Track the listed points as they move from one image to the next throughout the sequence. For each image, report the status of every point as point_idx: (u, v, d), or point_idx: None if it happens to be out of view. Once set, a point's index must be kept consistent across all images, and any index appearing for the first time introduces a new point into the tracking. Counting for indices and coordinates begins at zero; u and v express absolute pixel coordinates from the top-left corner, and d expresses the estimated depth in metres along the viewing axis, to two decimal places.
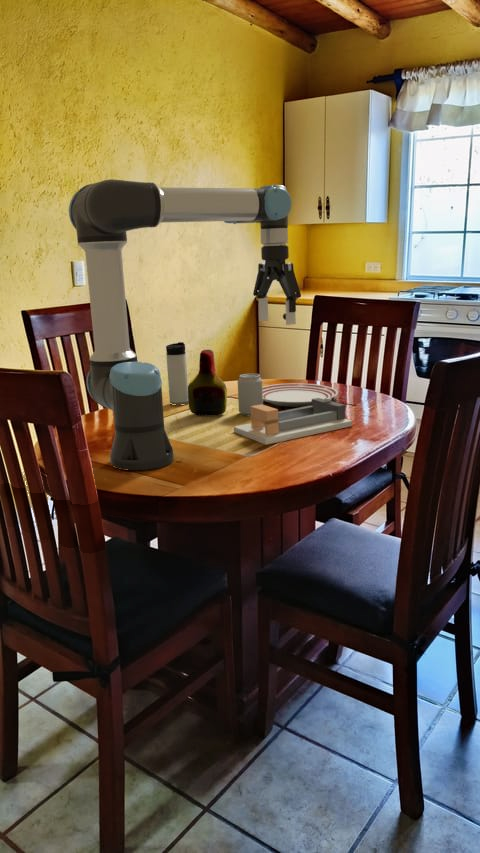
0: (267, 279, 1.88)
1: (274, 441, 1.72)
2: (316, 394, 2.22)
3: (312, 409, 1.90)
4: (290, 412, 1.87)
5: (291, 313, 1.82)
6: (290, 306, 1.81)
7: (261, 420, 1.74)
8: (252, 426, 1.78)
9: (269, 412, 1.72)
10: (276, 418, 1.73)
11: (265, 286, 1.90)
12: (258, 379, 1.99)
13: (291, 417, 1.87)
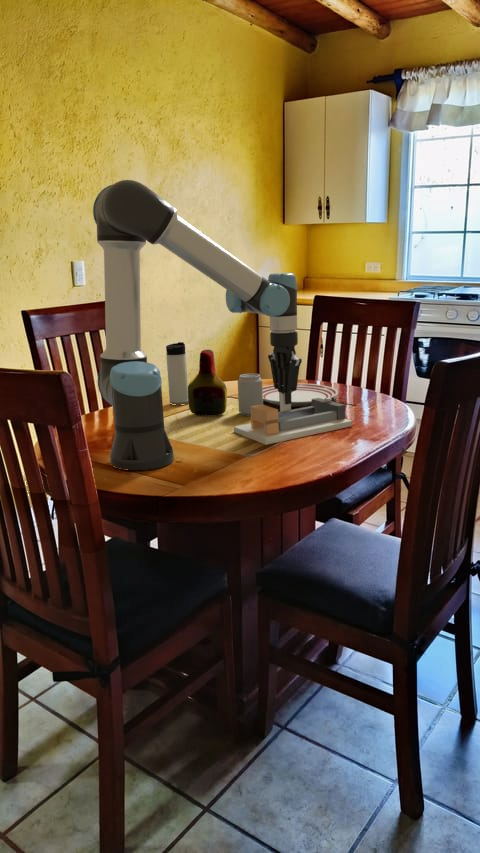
0: (280, 366, 1.85)
1: (274, 441, 1.72)
2: (316, 394, 2.22)
3: (313, 409, 1.90)
4: (291, 412, 1.86)
5: (287, 405, 1.87)
6: (286, 398, 1.85)
7: (261, 420, 1.74)
8: (252, 426, 1.78)
9: (269, 412, 1.72)
10: (276, 418, 1.73)
11: (282, 375, 1.86)
12: (258, 379, 1.99)
13: (292, 417, 1.87)
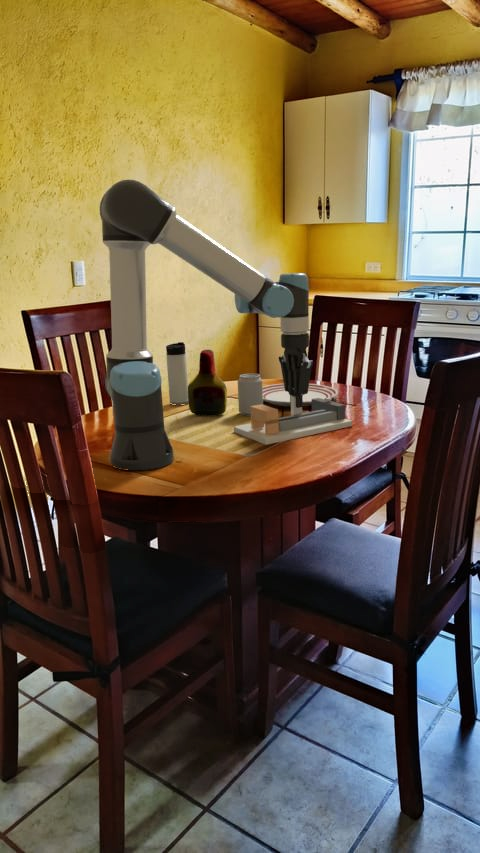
0: (291, 368, 1.80)
1: (274, 441, 1.72)
2: (316, 394, 2.22)
3: None
4: (302, 416, 1.82)
5: (298, 408, 1.82)
6: (297, 402, 1.81)
7: (261, 420, 1.74)
8: (252, 426, 1.78)
9: (269, 412, 1.72)
10: (276, 418, 1.73)
11: (292, 377, 1.81)
12: (258, 379, 1.99)
13: None
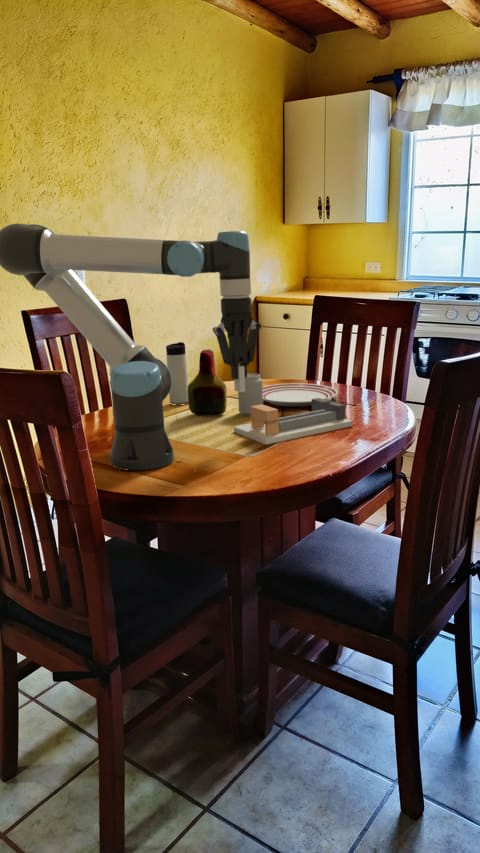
0: None
1: (274, 441, 1.72)
2: (316, 394, 2.22)
3: None
4: None
5: None
6: (245, 371, 1.68)
7: (261, 420, 1.74)
8: (252, 426, 1.78)
9: (269, 412, 1.72)
10: (276, 418, 1.73)
11: None
12: (258, 379, 1.99)
13: None
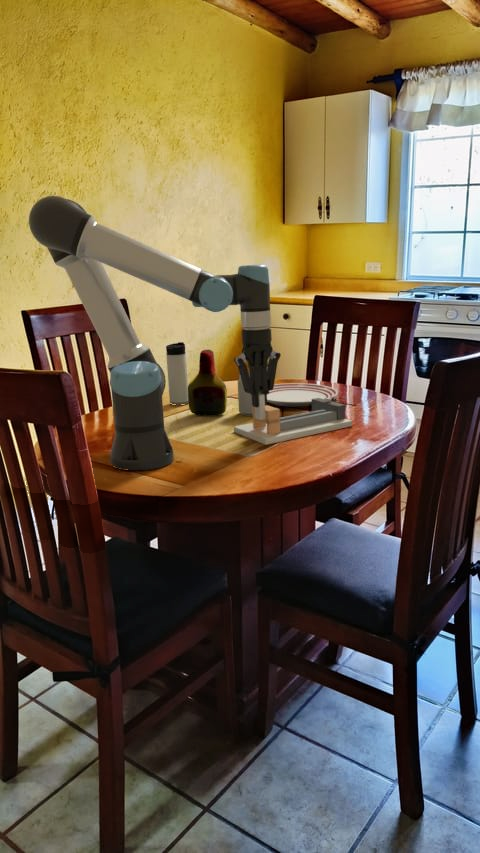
0: None
1: (274, 441, 1.72)
2: (316, 394, 2.22)
3: None
4: None
5: None
6: (265, 399, 1.73)
7: (263, 420, 1.74)
8: (254, 426, 1.79)
9: (271, 412, 1.72)
10: (278, 418, 1.73)
11: None
12: None
13: None
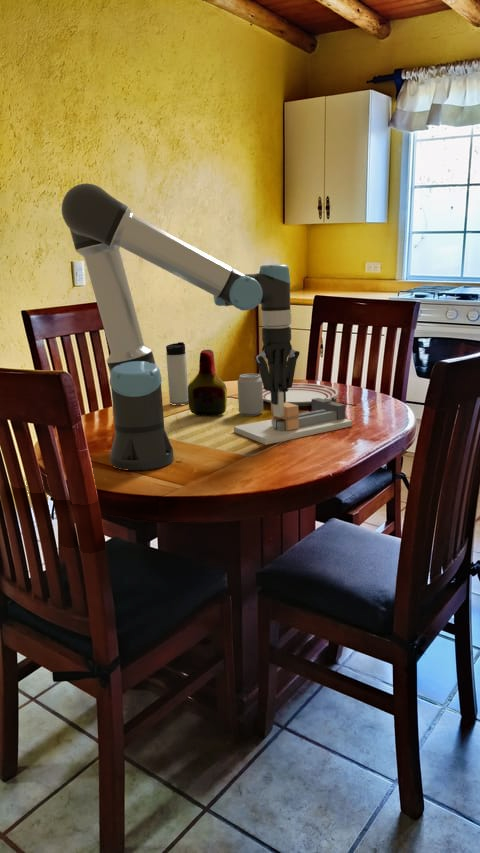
0: None
1: (274, 441, 1.72)
2: (316, 394, 2.22)
3: None
4: None
5: None
6: (284, 397, 1.76)
7: (282, 416, 1.77)
8: None
9: (290, 408, 1.75)
10: (296, 414, 1.76)
11: None
12: (258, 379, 1.99)
13: None
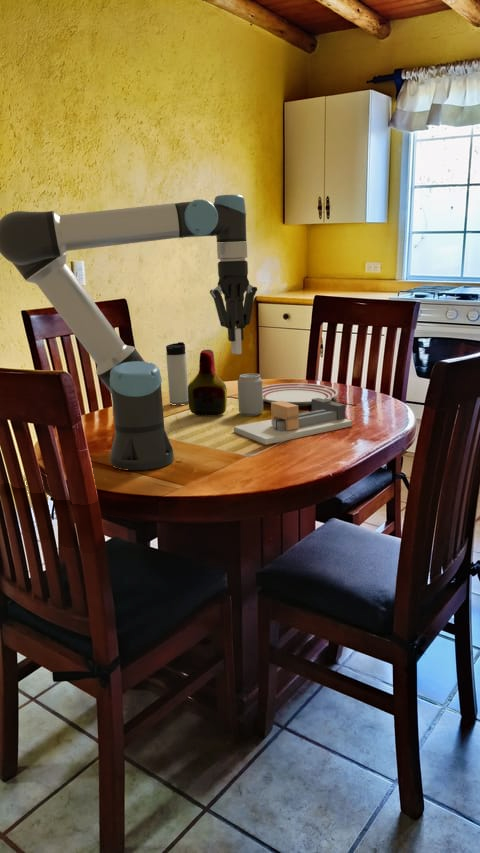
0: None
1: (274, 441, 1.72)
2: (316, 394, 2.22)
3: None
4: None
5: None
6: (241, 334, 1.72)
7: (282, 416, 1.77)
8: None
9: (290, 408, 1.75)
10: (296, 414, 1.76)
11: None
12: (258, 379, 1.99)
13: None
